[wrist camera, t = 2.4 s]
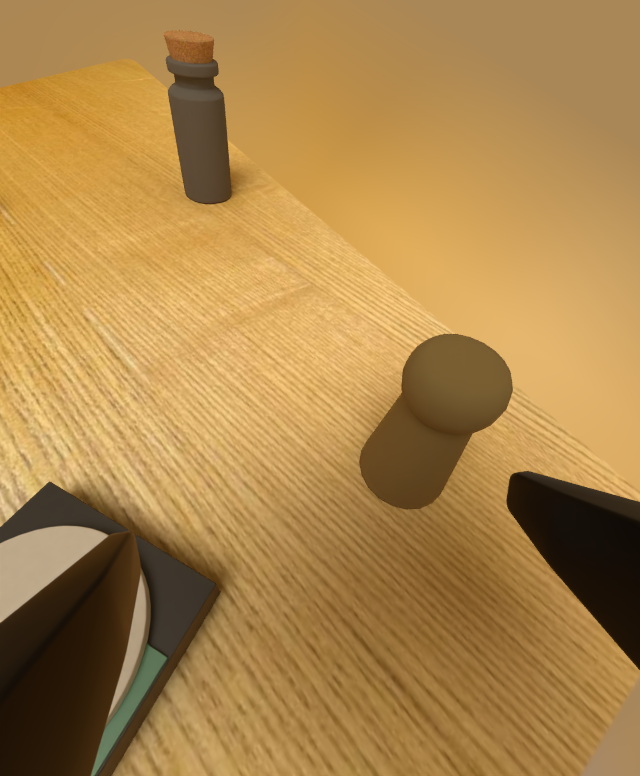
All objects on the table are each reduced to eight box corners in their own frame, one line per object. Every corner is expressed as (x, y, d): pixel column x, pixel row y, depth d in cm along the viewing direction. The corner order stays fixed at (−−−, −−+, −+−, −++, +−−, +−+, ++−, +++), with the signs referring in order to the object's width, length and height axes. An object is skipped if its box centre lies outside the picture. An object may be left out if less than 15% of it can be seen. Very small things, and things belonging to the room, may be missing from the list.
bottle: (179, 186, 48) (150, 27, 36) (222, 181, 50) (208, 30, 38) (193, 206, 45) (166, 40, 33) (238, 200, 47) (228, 43, 35)
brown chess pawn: (462, 481, 25) (562, 380, 16) (397, 527, 23) (474, 435, 14) (406, 417, 28) (465, 303, 19) (342, 451, 25) (379, 338, 17)
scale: (221, 591, 19) (214, 580, 17) (33, 905, 13) (-19, 956, 10) (66, 496, 22) (42, 474, 19) (-161, 722, 15) (-240, 730, 13)
